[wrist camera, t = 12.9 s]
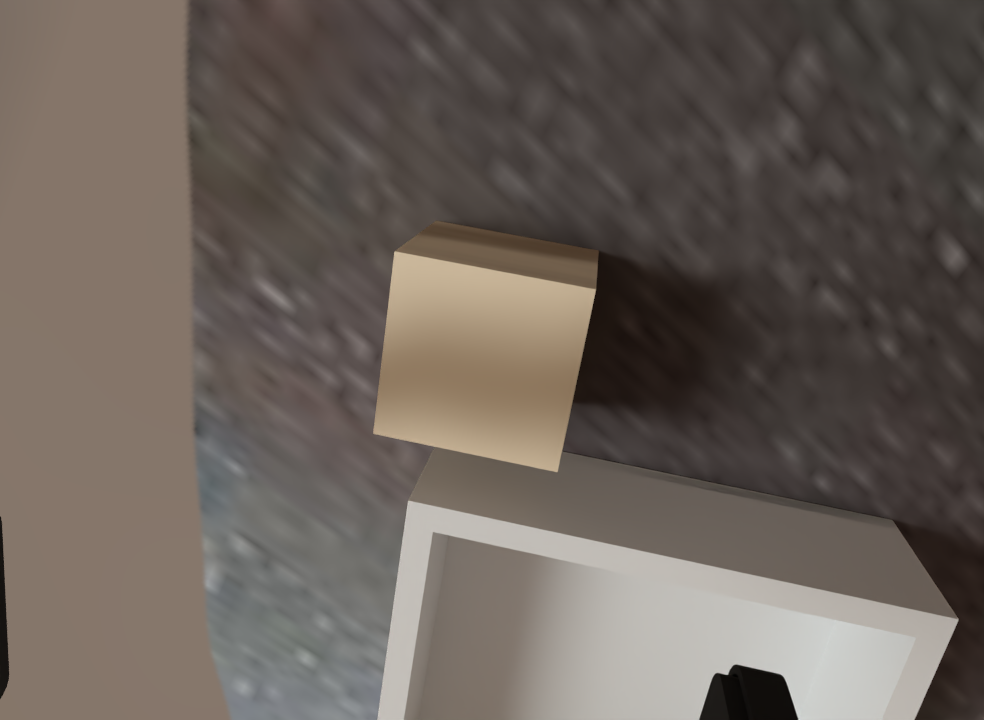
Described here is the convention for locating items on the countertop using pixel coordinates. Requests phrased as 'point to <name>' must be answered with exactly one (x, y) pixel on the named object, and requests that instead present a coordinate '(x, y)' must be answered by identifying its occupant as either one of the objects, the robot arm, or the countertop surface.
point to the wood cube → (485, 343)
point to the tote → (646, 598)
